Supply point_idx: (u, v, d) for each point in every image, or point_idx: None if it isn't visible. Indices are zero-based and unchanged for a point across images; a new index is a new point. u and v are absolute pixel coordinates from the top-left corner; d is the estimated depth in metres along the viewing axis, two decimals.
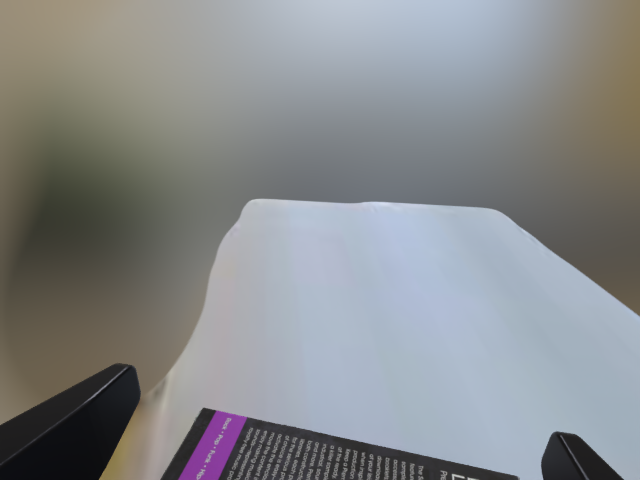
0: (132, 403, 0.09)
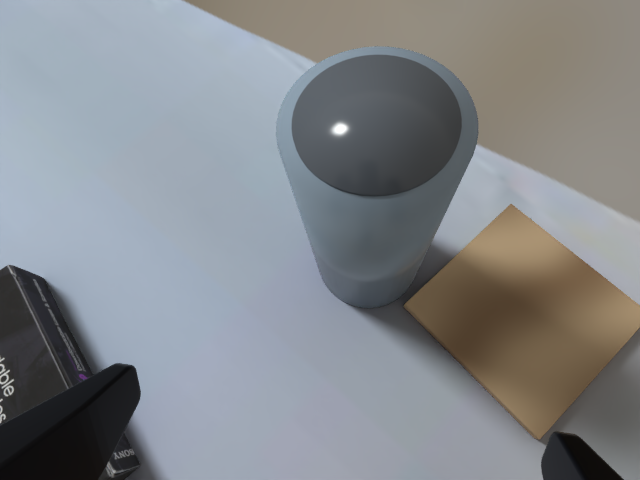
0: (132, 403, 0.09)
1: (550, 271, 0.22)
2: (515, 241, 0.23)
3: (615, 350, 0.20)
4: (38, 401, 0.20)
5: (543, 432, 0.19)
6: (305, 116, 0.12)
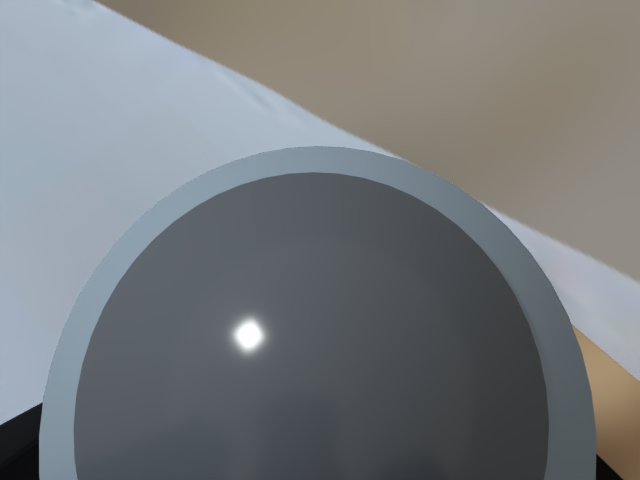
0: None
1: (619, 424, 0.15)
2: None
3: None
4: None
5: None
6: (119, 354, 0.04)
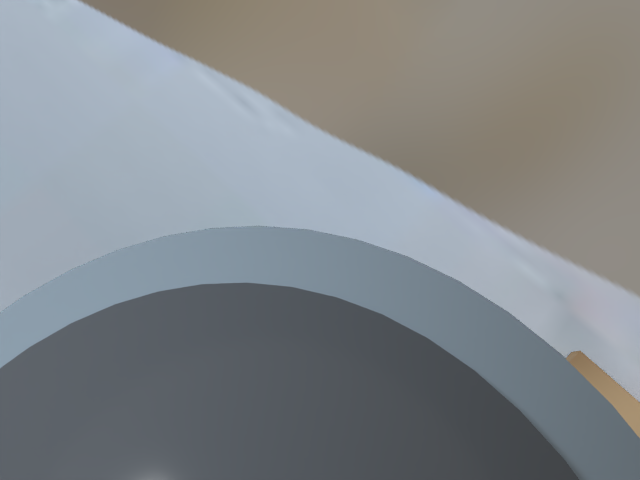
0: None
1: None
2: None
3: None
4: None
5: None
6: None
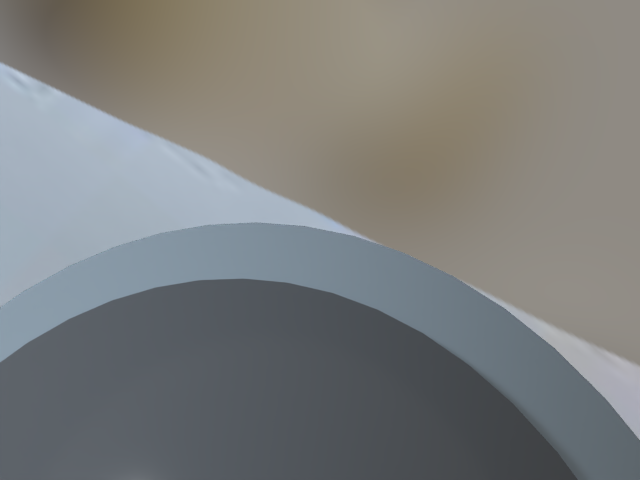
0: None
1: None
2: None
3: None
4: None
5: None
6: None
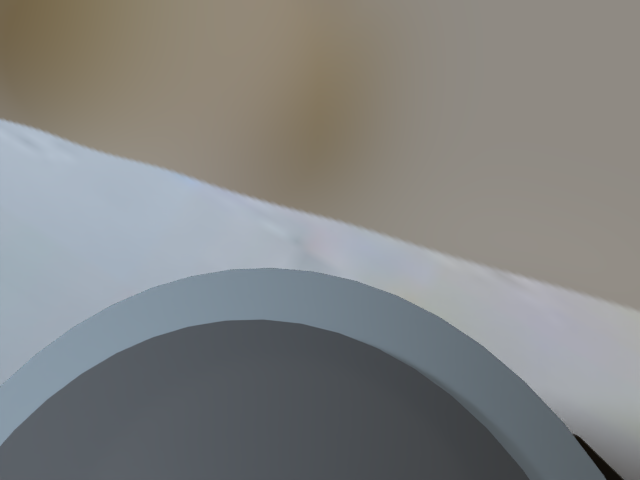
0: None
1: None
2: None
3: None
4: None
5: None
6: None
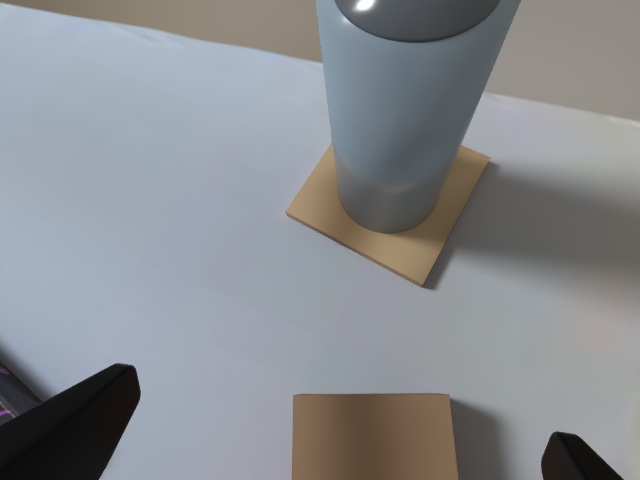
0: (132, 403, 0.09)
1: None
2: None
3: (468, 194, 0.23)
4: None
5: (424, 277, 0.22)
6: None
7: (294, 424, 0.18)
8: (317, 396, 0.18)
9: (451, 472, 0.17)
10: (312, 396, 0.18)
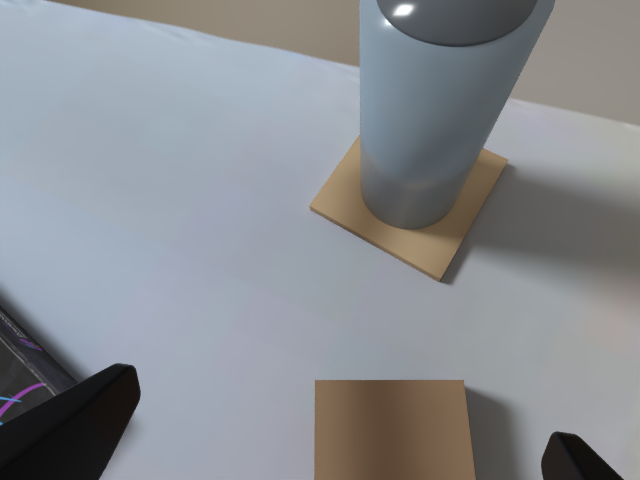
0: (132, 403, 0.09)
1: None
2: None
3: (486, 194, 0.24)
4: None
5: (442, 272, 0.22)
6: None
7: (316, 407, 0.19)
8: (338, 381, 0.19)
9: (466, 452, 0.17)
10: (333, 381, 0.19)
